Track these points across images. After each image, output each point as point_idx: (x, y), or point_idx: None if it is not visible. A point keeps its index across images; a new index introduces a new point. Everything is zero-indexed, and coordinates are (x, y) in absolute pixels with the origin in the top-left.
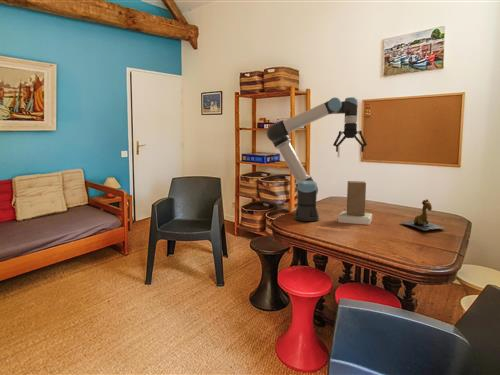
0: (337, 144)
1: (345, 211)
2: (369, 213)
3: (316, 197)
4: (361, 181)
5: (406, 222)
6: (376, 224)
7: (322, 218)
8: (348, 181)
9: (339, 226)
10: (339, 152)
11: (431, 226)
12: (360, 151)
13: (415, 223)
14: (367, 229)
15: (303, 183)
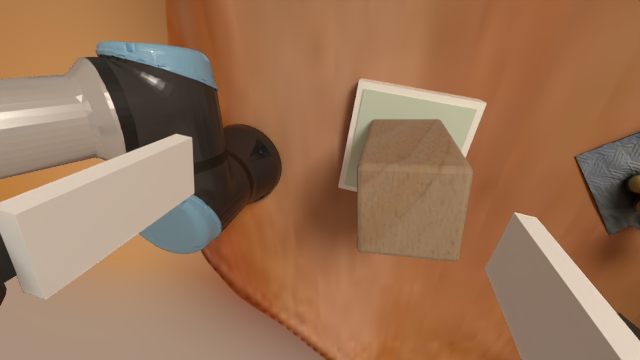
0: None
1: (368, 91)
2: (470, 116)
3: (238, 196)
4: (448, 185)
5: (614, 146)
6: None
7: (289, 127)
8: (359, 195)
9: (345, 235)
10: (139, 172)
11: None
12: (528, 355)
13: (631, 191)
14: (420, 259)
15: (158, 244)
